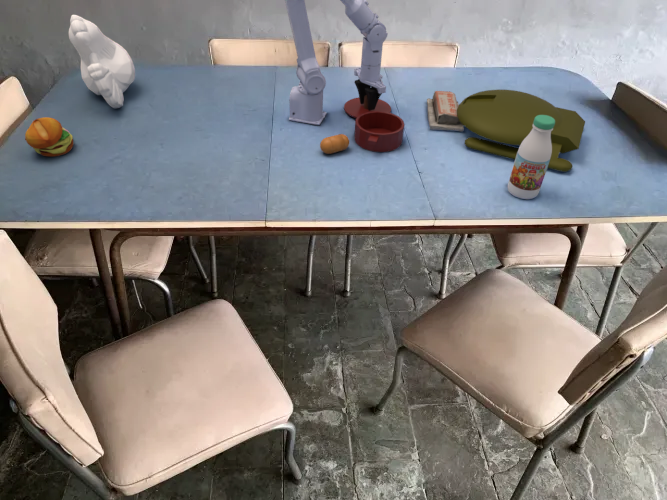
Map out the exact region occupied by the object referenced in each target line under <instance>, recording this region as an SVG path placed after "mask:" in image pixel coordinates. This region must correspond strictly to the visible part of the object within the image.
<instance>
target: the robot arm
mask: <svg viewBox="0 0 667 500" xmlns="http://www.w3.org/2000/svg"><path fill="white" fill-rule="evenodd" d="M339 1H340V2H341V3H342V4H343V5H344V7H345V8H344V12H345V13H344V14H345V16H346V17H347V18H348V19H349V20H350V21H351V22H352V24H353V25H354V26H355V27H356V29H357V30H358V31H359V32H360V35H363V37H362V47H361V60H360V67H356V68H354V71H353V75H354V76H355V77H357V79H356V80H355V79H354V85H355V87H356V90H357V94H358V97H359V99H360V104H364V97H365V95H367V100H368V110H374V109H375V107H376V104H377V102H378V99H380V97H381V96H382V95H383V94H385V93H386V92H387V86H386V85H385V84H384V82H383V80H382V79H383V77H384V76H383V74H381V67H382V59H383V58H382V57H383V56H382V55H383V48H384V47H383V46H384V42H385V41H386V40H387V38H388V32H387V28H386V26H385V24H383V22H381V20H380V19H378V18H379V15H378V14H377V13H376V12H373V10H372V9H371V8H370V7H369V2H368V1H367V0H339ZM284 3H285V7H286V11H287V12H286V13H287V17H288V20H289V25H290V29H291V34H292V39H293V43H294V47H295V51H296V56H297V58H296V64H297V66H296V70H295V74H296V77H297V79H298V80H299V82H298V85H297V86H296V85H294V86H292V87H291V89H290V94H289V99H288V101H289V102H288V103H289V118H288V120H289V121H292V122H296V123H304V124H310V125H315V126H320V125H321V124H322V122H323V121H324V119H325V117H326V116H327V114H328V112H327V111H324V89H325V88H326V85H327V80H326V77H325V76H324V75H323V73H322V71H321V67H320V64H319V62H318V58H317V57H316V51H315V45H314V42H313V37H312V32H311V27H310V22H309V16H308V12H307V6H306V2H305V0H284Z"/></svg>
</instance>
